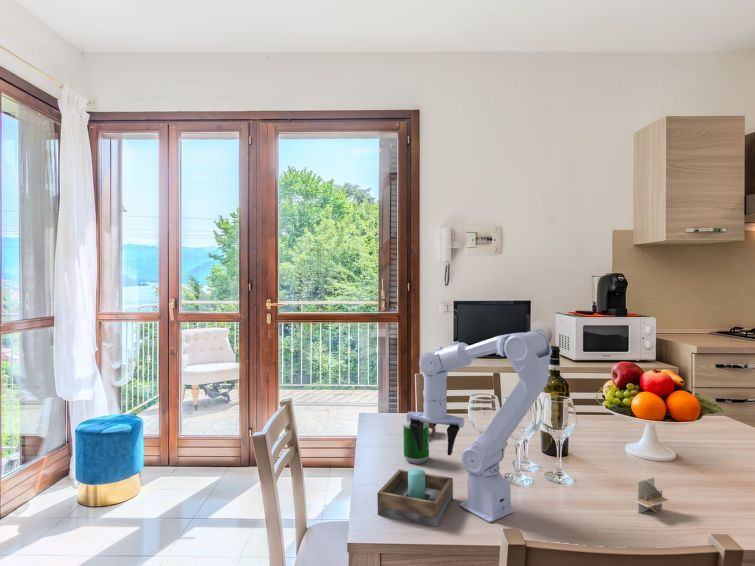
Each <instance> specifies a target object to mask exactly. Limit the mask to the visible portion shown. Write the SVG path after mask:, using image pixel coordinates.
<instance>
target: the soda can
mask: <svg viewBox="0 0 755 566" xmlns="http://www.w3.org/2000/svg"><path fill="white" fill-rule="evenodd" d="M410 424H411V421H407V418H406V419H405V420H404V421H403V425H402V426H403V458H404V459H405V460H406V461H407V462H408V463H411V464H423V463H425V462H427V460H428V459H429V457H430V439H429V437H430V428H429V423H426V422H424V425H423V449H422V450H421V451H418V447H417V443H416V439H415V437H414V434H413V432H412V430H411V429H410Z"/></svg>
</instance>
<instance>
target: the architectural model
mask: <svg viewBox="0 0 755 566" xmlns="http://www.w3.org/2000/svg"><path fill="white" fill-rule="evenodd" d="M635 502H636V503H637V513H638V514H640V513H643V512H646V511H653V512H655V513H657V512H658V511H660V512H662V511H663V504H664V503H667V502H669V499H668V498H666V497H663V490H659V489H657V487H656V485H655V477H654V476H653V477H649V478H646V479H642V480H639V481H637V499H635Z"/></svg>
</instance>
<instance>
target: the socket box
mask: <svg viewBox="0 0 755 566" xmlns="http://www.w3.org/2000/svg"><path fill="white" fill-rule="evenodd" d="M408 471H409V470H405V469H398V470H397V471H396V472H395V473H394V474H393V475H392V477H390V479H388V481H387V482H386V483H385V484H384V485H383V486H382V487H381V488H380V490H378V492H377V495H376V496H377V515H378V516H384V517H388V518H391V519H392V518H393V519H398V520H403V521H407V522H412V523H417V524H422V525H427V526H431V527H436V528H437V527H438V525H439V524H440V522H441V520H442V519H443V517H444V515H445V514H446V512H447V510H448V508H449V506H450V504H451V503H452V501H453V499H454V480H453V479H454V478H453V477H448V476H441V475H436V474H428V473H425V500H423V499H418V498H413V497H408Z"/></svg>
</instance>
